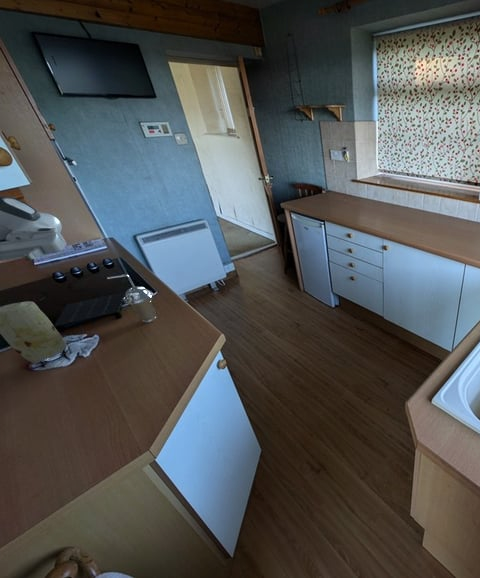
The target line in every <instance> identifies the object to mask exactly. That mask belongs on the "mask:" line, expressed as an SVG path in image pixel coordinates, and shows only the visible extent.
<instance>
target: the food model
mask: <svg viewBox="0 0 480 578" xmlns="http://www.w3.org/2000/svg"><path fill="white" fill-rule="evenodd" d="M0 335H1V337H2V338H3V339H4V340H5V341H6V342H7V344H8V345H9V346H10V347H11V348H12V349H13V350H14V351H15V352H16V353H17V354H18V355H19V356H21V357H22V358H23V359H25V360H26V361H28V362H30V363H31V364H34V363H38V362H40V361H44V360H45V359H47V358H50V357H53V356H55V355H57V354H59V353H62V352H63V350H64V349H65V347H66V346H67V345H68V344H67V343H66V342H65V339H64V338H63V336H62V334H61V333H59V332H58V331H57V330H56V329H55V327H54V324H53V323H52V321H51V320H50V318H48V316H47V315H46V314H45V313H44V312H43V311H42V310H41V309H40V308H39V306H38V305H37V304H36V302H34V301H21V302H15V303H9V304H6V305H2V306H0Z"/></svg>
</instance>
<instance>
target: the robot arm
mask: <svg viewBox="0 0 480 578" xmlns="http://www.w3.org/2000/svg"><path fill="white" fill-rule="evenodd" d="M62 230H63V226H62V223H61V221H60V219H58V218H57V217H56V216H54V215H52V214H50V213H46V212H41V211H37V209H35V208H34V207H33V206H31V205H30V204H28V203H26V202H24V201H23V200H20V199H17V198H14V197H9V196H0V262H5V261H11V260H17V259H25V261H32V260H35V258H38V257H40V256H43V255H44V256H45V255H49V254H51V255H52V254H57V253H60V252H62V251H63V250H64V249H65V248H66V247H67V246H68V244H67V241H66V240H65V238H64V236H63V235H62V234H61V233H62Z"/></svg>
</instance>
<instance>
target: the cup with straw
mask: <svg viewBox="0 0 480 578" xmlns="http://www.w3.org/2000/svg"><path fill="white" fill-rule="evenodd" d="M119 278H127V280H128V282H129V284H130V286H131V287H130V288H128V289H127V290H126V291H125V297H124V299H123V300H124V301H123V304H126V305H128V306H129V307H130V308H132V310H133V311H134V312H135V314H136V315H137V316H138V318H139V319H140V320H141V321H142V323H143V324H148V323H151V322H152V323H153V322H154V321H156V320H157V319H158V316H157V311H156V309H155V306H154V303H153V295H154V293H153V291H152V290H150V289H147V288H146V287H144V286H139V285H137V286H135V284H134V283H133V280H132V279H131V276H130V275H129V274H120V275H113V276H107V277H106V280H112V279H119Z"/></svg>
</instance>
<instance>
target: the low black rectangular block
mask: <svg viewBox="0 0 480 578" xmlns="http://www.w3.org/2000/svg"><path fill="white" fill-rule="evenodd" d="M125 293H126V291H124V292H119V293H115V294H110V295H105V296H100V297H95V298H91V299H87V300H82V301H75V302H71V303H67V304H66V306H65V307H64V308H63V310H62V311H61V313H60V314H59V317H58V318H57V320H56V322H55V323H54V324H53V326H54V327H55V329H56V330H57V331H58V332H59V333H60V332H61V333H64V331H65V332H66V330H67V328H66V327H69V326H73V325H78V324H82V323H86V322H87V323H88V322H91V321H94V320H99V319H103V318H108V317H112V316H113V317H114V318H115V320H119V319H122V318H123V315H122V314H121V310H122V307H123V304H124V300H123V299H124V297H125ZM65 329H66V330H65ZM61 333H60V334H61Z"/></svg>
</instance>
